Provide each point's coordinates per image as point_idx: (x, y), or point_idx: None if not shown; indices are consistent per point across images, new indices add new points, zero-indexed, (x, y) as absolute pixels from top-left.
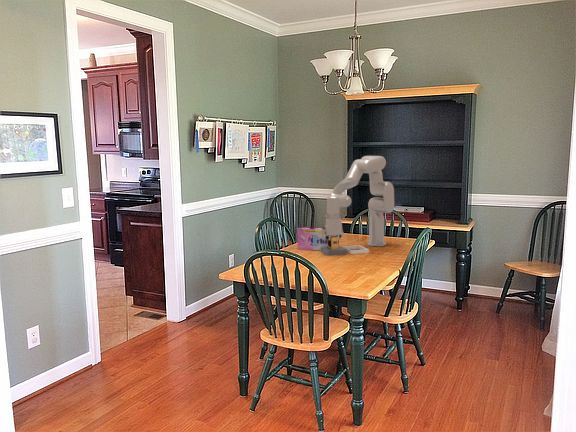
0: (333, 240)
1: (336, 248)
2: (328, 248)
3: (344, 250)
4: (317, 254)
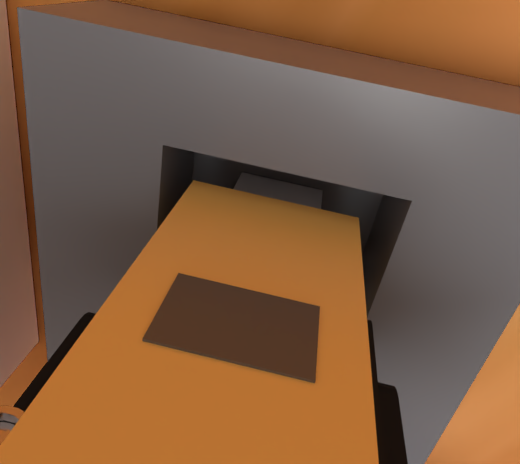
0: (299, 409)
1: (233, 202)
2: None
3: (79, 16)
4: (492, 368)
